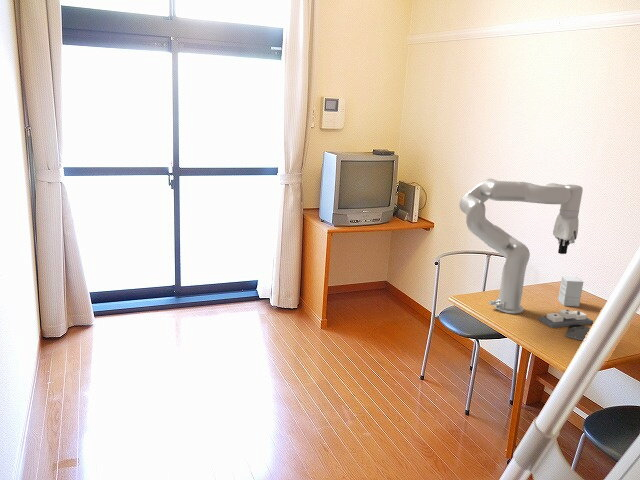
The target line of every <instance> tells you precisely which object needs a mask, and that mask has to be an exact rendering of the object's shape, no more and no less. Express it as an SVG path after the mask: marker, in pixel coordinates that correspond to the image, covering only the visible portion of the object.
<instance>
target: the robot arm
mask: <svg viewBox="0 0 640 480" xmlns="http://www.w3.org/2000/svg"><path fill="white" fill-rule="evenodd" d="M582 197H583V187H582V186H581V185H577V184H559V183H555V182H554V183H553V182H552V183H548V184H546V185H539V184H534V183H532V182H528V181H527V182H526V181H507V180H497V179H494V178H487V179H484V180H482V182H480V183H479V184H477V185H476V186H475V187H474V188H472V189H471V190H470V191H468V192H467V193H465V195H464V196H462V198H460V200H459V206H458V207H459V208H460V210H461V212H462V213H463V214H465V215H466V217H465V219H466V227H467V229H468V230H469V232H470V233H472V235H474V236H475V237H477V238H478V239H479V240H481V241H482V242H483V243H484V244H485V245H487V247H489V248H490V249H493V250H494V251H496V252H497V253H498V254H500V255H501V256H503V257H504V258H505V262H504V264H503V267H502V271H501V281H500V286H499V287H500V288H499V293H498V297H496V299H495V300H489V301H488V305H490V306H494V308H495V309H496V310H497V311H500V312H502V313H507V314H511V315H512V314H516V315H517V314H521V313H523V312H524V307H523V306H522V305H521V302H522V298H523V297H522V296H523V290H524V282H525V277H526V276H525V275H526V271H527V266H528V265H529V264H528V263H529V260H530V255H531V254H530V253H531V252H530V250H529V248H528V247H527V245H525V244H524V243H523V242H522V241H519V240H518V239H517V238H515V237H513V236H512V235H510V234H509V233H508V232H506V231H505V230H504V229H502V228H501V227H499V226H498V225H496V224H494V223H493V222H491V221H489V220H488V219H487V217H486V211H487V210H486V209H487V208H486V205H485V203H486V202H487V201H488V200H491V201H496V202H497V201H499V202H518V203H519V202H522V203H532V204H540V205H541V204H543V205H560V206H559V207H560V208H559V213H558V214H557V215H556V216H557V217H556V219H555V222H554V225H553V230H552V234H553V236H554V238H555V239H557V241H558V249H557V250H558V251H557V253H558V254H560V255H566V254H567V253H568V247H569V246H570V244H575V242H576V241H575V240H576V239H577V237H578V234H579V233H578V232H579V214H580V208H581V207H580V206H581V203H582V202H581V201H582Z"/></svg>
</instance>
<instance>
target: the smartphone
mask: <svg viewBox="0 0 640 480" xmlns="http://www.w3.org/2000/svg"><path fill="white" fill-rule="evenodd" d="M588 330H589V331H590V327H589V326H586V325H578V324H577V325H570V326H568V329H567V331H566V333H565V337H566V338H567V339H568V338H569V339H573V340H577V341H581V342H584V341H583V339H584V338H585V335H586V334H587V332H588V333H589V331H588ZM587 335H588V334H587Z"/></svg>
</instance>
